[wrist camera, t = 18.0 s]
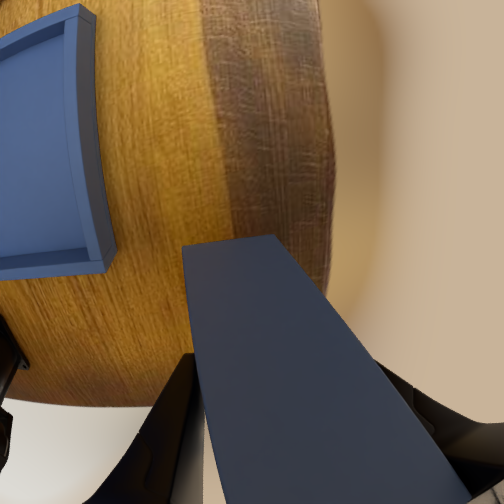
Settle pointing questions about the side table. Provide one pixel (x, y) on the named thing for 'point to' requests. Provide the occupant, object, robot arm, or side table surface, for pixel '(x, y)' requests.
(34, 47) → the blue tray
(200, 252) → the blue post
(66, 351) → the side table surface
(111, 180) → the side table surface
